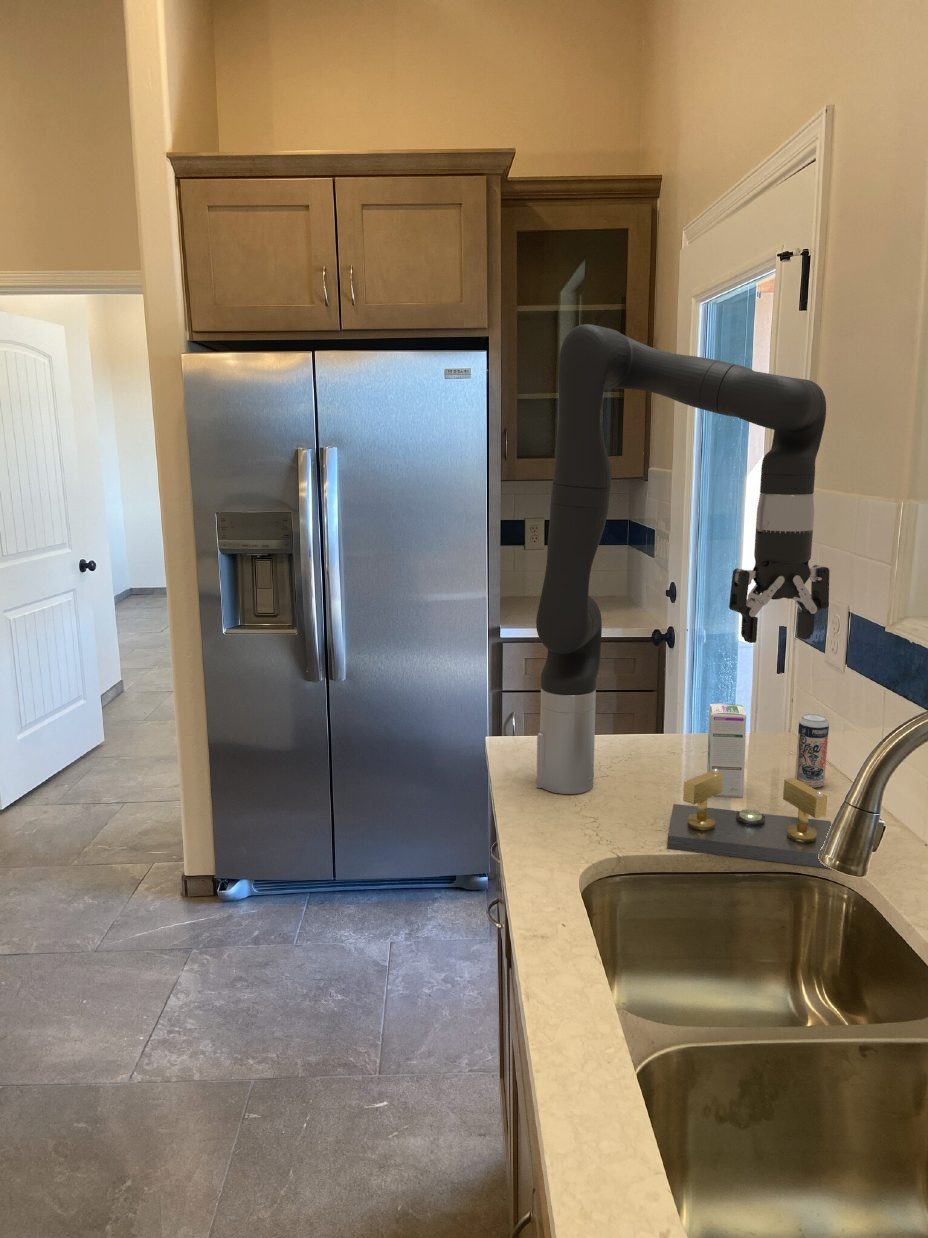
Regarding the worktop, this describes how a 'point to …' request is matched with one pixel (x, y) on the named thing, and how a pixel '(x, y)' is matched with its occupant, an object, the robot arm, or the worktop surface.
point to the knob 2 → (804, 808)
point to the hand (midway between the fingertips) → (776, 640)
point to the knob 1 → (702, 798)
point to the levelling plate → (746, 836)
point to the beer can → (812, 750)
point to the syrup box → (727, 746)
